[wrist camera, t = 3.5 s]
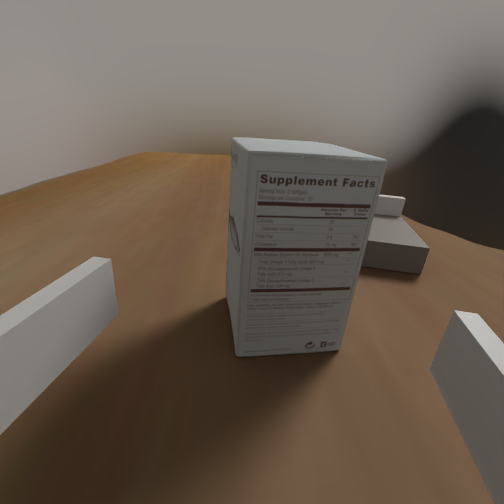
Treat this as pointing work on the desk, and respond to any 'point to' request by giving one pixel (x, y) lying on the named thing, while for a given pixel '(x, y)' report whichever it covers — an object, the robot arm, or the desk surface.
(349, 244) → the supplement box
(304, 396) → the desk surface
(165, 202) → the desk surface
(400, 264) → the shelf board
